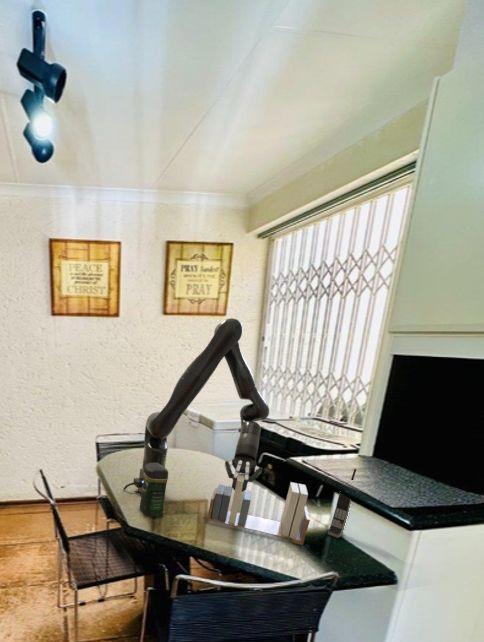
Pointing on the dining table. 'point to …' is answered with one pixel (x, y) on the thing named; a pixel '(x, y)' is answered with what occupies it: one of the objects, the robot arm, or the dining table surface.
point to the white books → (293, 509)
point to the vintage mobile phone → (340, 514)
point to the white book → (236, 498)
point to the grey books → (223, 504)
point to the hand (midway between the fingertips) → (238, 489)
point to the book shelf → (265, 523)
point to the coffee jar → (153, 490)
